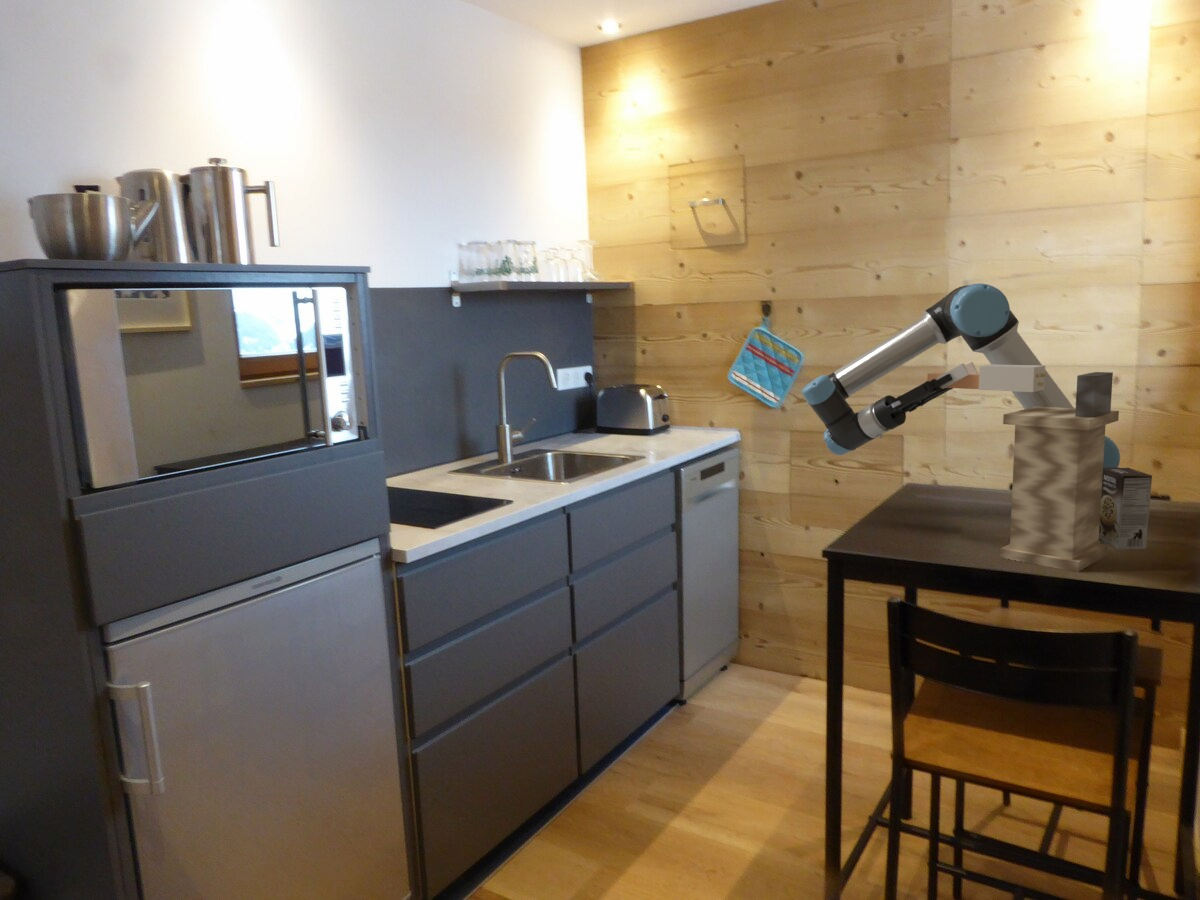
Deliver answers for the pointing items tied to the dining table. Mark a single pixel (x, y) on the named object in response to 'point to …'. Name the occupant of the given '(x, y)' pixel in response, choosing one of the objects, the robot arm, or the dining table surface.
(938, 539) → the dining table surface
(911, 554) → the dining table surface
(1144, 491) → the coffee box
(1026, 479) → the stand
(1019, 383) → the plug
